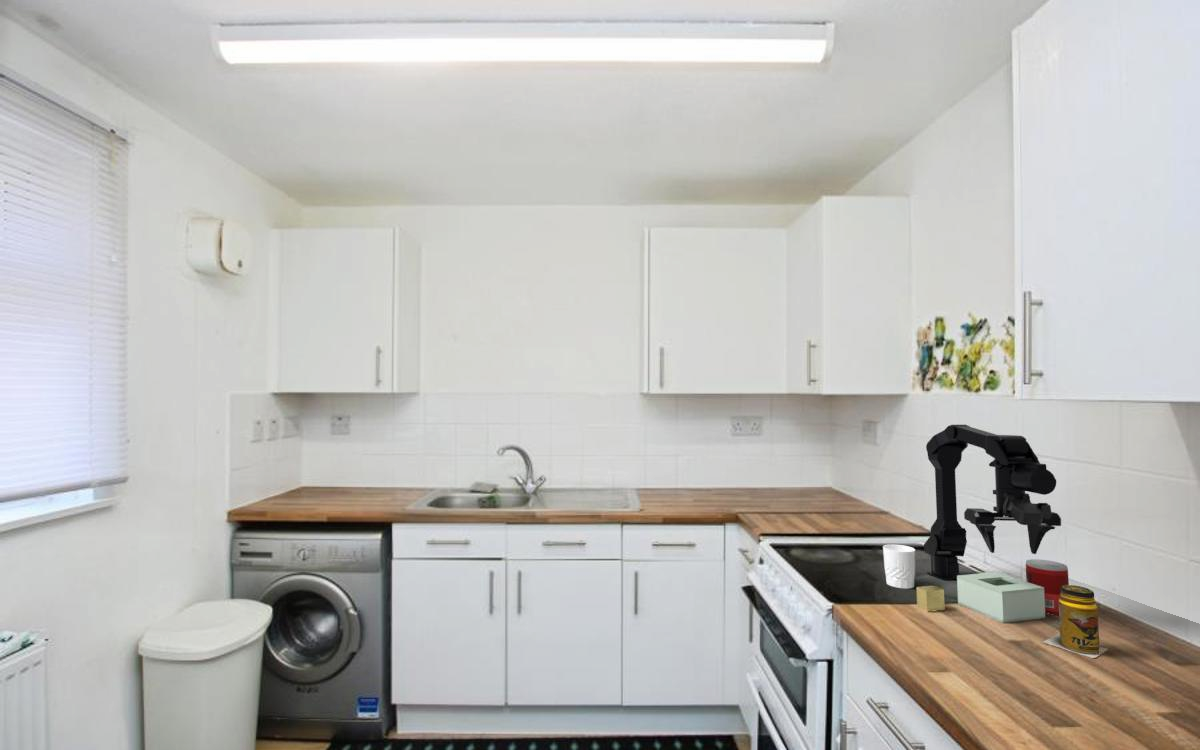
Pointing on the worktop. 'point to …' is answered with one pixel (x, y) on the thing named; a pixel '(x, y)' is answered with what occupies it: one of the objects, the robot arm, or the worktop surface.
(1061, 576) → the canned food
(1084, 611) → the condiment
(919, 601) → the yellow block
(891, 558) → the white cup
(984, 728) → the worktop surface
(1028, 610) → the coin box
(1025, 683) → the worktop surface
